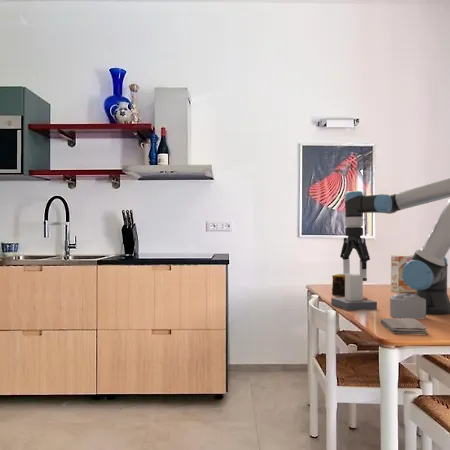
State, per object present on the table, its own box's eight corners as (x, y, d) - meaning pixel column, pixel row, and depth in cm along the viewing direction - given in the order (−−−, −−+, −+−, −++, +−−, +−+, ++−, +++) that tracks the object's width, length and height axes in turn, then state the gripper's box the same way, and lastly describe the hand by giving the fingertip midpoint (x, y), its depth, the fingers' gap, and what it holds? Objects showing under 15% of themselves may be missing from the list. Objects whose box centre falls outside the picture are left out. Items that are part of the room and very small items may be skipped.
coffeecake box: (398, 292, 238) (398, 256, 238) (390, 290, 245) (390, 255, 245) (422, 291, 242) (422, 255, 242) (413, 290, 249) (413, 254, 249)
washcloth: (392, 336, 148) (393, 326, 148) (378, 324, 166) (378, 315, 166) (430, 337, 147) (430, 327, 147) (412, 324, 165) (412, 316, 165)
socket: (376, 308, 192) (376, 300, 192) (347, 310, 189) (347, 301, 189) (359, 303, 206) (359, 294, 206) (331, 304, 202) (331, 296, 202)
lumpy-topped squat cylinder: (389, 313, 184) (389, 291, 184) (424, 315, 180) (424, 293, 180) (390, 318, 174) (391, 295, 174) (427, 320, 170) (427, 297, 170)
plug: (362, 304, 201) (363, 273, 201) (368, 306, 197) (368, 274, 197) (344, 305, 199) (345, 274, 199) (350, 306, 195) (350, 275, 194)
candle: (350, 296, 225) (350, 276, 225) (331, 294, 231) (331, 275, 231) (358, 294, 233) (358, 275, 233) (339, 292, 239) (339, 273, 239)
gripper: (378, 226, 186) (378, 278, 186) (347, 227, 210) (347, 272, 210) (362, 226, 184) (362, 278, 184) (332, 227, 208) (332, 273, 208)
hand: (354, 275), depth 197 cm, fingers open, 13 cm apart
